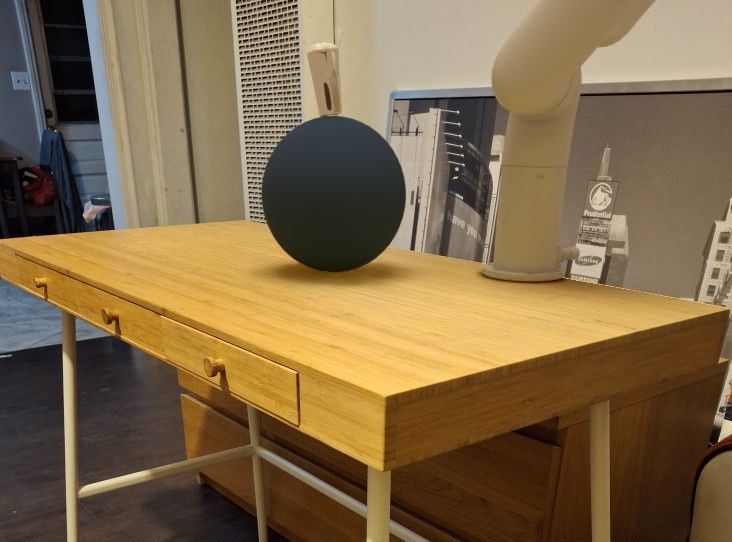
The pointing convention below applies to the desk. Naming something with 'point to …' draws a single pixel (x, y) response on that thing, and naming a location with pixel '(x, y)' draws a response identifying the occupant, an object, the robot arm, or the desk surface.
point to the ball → (333, 194)
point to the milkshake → (326, 77)
